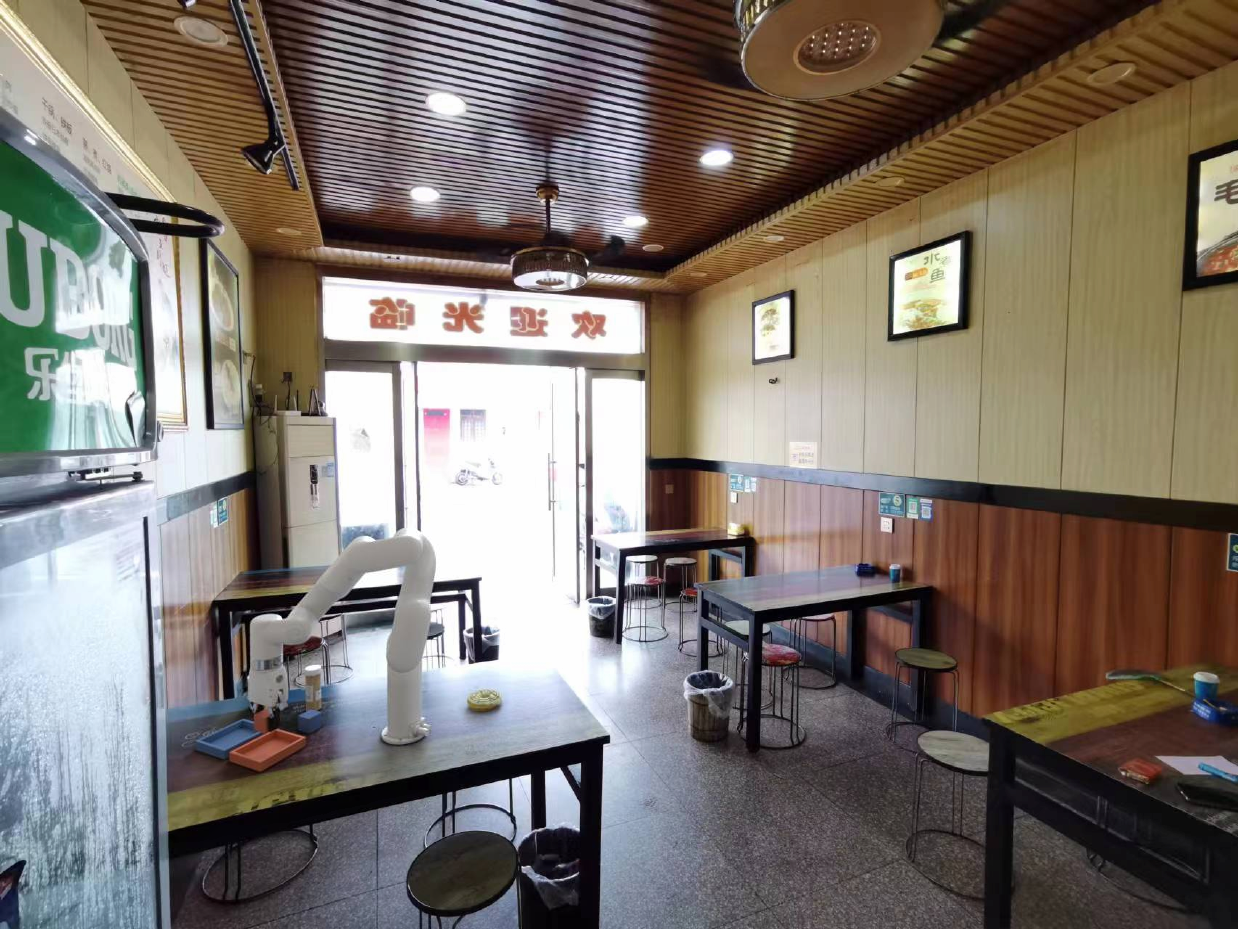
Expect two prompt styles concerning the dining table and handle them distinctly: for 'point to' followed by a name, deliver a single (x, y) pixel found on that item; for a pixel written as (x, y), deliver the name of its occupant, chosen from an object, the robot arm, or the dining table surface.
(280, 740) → the terracotta tray
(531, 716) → the dining table surface
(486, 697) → the decorated donut
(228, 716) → the dining table surface
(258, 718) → the terracotta block
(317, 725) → the slate-blue block
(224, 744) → the slate-blue tray
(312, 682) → the sprinkles bottle
